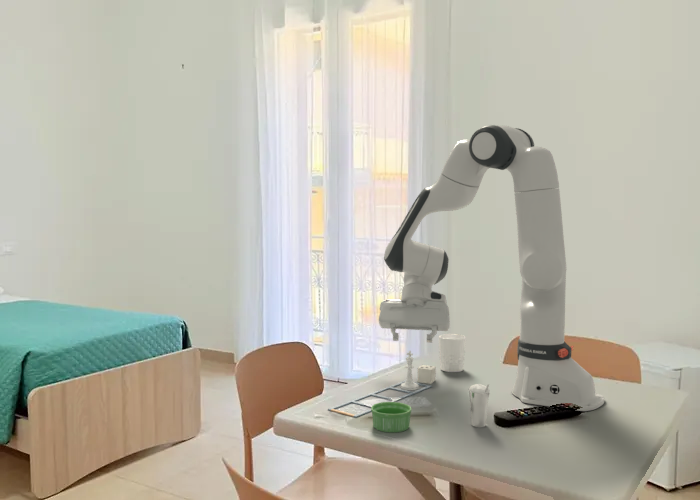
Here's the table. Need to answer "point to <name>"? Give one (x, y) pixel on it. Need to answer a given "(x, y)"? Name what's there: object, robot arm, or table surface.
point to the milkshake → (479, 404)
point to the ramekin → (391, 416)
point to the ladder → (377, 396)
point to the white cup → (452, 352)
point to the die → (426, 374)
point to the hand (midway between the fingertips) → (412, 340)
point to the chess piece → (409, 375)
